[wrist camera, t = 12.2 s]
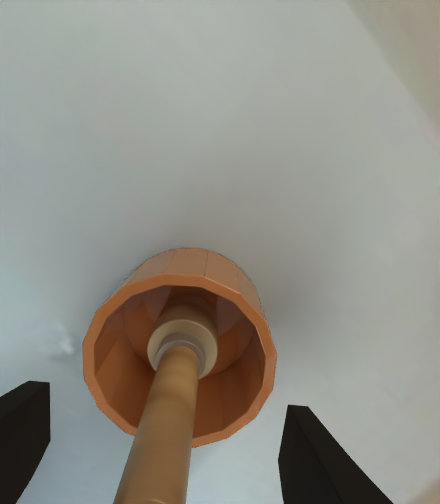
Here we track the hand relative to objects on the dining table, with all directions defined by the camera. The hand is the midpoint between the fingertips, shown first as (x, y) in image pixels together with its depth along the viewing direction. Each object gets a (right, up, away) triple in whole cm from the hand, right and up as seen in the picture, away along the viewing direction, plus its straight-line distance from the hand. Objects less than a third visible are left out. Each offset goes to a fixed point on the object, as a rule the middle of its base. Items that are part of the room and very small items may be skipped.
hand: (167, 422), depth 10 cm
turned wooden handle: (0, +2, +7) cm, 7 cm away
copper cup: (0, +2, +7) cm, 8 cm away
